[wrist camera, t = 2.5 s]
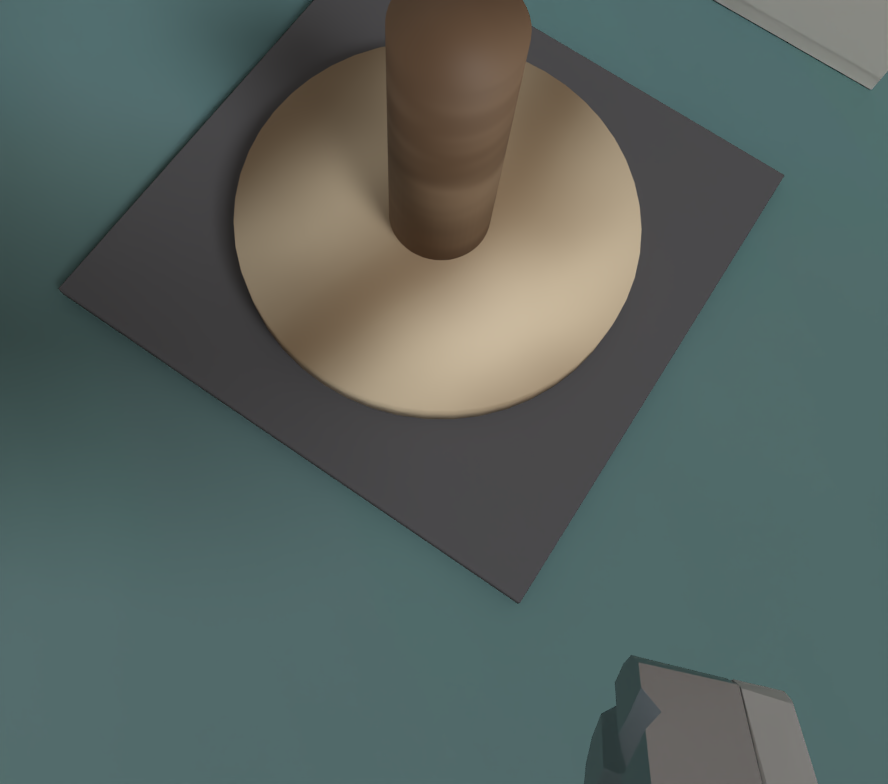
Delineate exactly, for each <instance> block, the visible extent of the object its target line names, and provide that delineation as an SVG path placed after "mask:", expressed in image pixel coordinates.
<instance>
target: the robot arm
mask: <svg viewBox="0 0 888 784" xmlns="http://www.w3.org/2000/svg"><path fill="white" fill-rule="evenodd" d="M615 693H616V706H615V707H613V708H611V709H609V710H607V711H605V712H603V713H601V715H600V718H599V721H598V723H597V726H596V728H595V731H594V733H593V736H592V739H591V744H590V748H589V752H588V757H587V761H586V768H585V780H584V784H818V782H817V779H816V776H815V773H814V769H813V766H812V763H811V760H810V756H809V753H808V750H807V747H806V744H805V740H804V737H803V734H802V731H801V728H800V724H799V721H798V718H797V715H796V711H795V708H794V705H793V702H792V700H791V699H790V698H789V696H788V695H787V694H786V693H785V692H784V691H780V690H776V689H772V688H768V687H763V686H759V685H755V684H751V683H747V682H742V681H738V680H734V679H733V680H729V679H727V678H723V677H719V676H715V675H710V674H706V673H702V672H698V671H694V670H690V669H686V668H682V667H678V666H674V665H670V664H665V663H661V662H657V661H653V660H649V659H645V658H641V657H637V656H633V655H631V656H630V657H629V658H628V659H627V660H626V662H625V663H624V664H623V666H622V668H621V670H620V672H619V675H618V677H617V679H616V681H615Z"/></svg>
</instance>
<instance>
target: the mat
mask: <svg viewBox="0 0 888 784" xmlns="http://www.w3.org/2000/svg"><path fill="white" fill-rule="evenodd" d="M390 1H391V0H314V1H313V2H312V3H311V4H310V5H309V6H308V7H307V9H306V10H305V11H304V12H303V13H302V14H301V15H300V16H299V18H298V19H297V20H296V21H295V22H294V23H293V24H292V25H291V27H290V28H289V29H288V30H287V31H286V32H285V33H284V34H283V36H282V37H281V38H280V39H279V40H278V41H277V42H276V44H275V45H274V46H273V47H272V48H271V49H270V50H269V51H268V53H267V54H266V55H265V56H264V57H263V58H262V59H261V60H260V62H259V63H258V64H257V65H256V66H255V67H254V68H253V69H252V71H251V72H250V73H249V74H248V75H247V76H246V77H245V79H244V80H243V81H242V82H241V83H240V84H239V85H238V86H237V88H236V89H235V90H234V91H233V92H232V93H231V94H230V95H229V97H228V98H227V99H226V100H225V101H224V102H223V103H222V104H221V106H220V107H219V108H218V109H217V110H216V111H215V112H214V114H213V115H212V116H211V117H210V118H209V119H208V120H207V121H206V123H205V124H204V125H203V126H202V127H201V128H200V129H199V130H198V132H197V133H196V134H195V135H194V136H193V137H192V138H191V139H190V141H189V142H188V143H187V144H186V145H185V146H184V147H183V149H182V150H181V151H180V152H179V153H178V154H177V155H176V156H175V158H174V159H173V160H172V161H171V162H170V163H169V164H168V165H167V167H166V168H165V169H164V170H163V171H162V172H161V173H160V174H159V176H158V177H157V178H156V179H155V180H154V181H153V182H152V184H151V185H150V186H149V187H148V188H147V189H146V190H145V191H144V193H143V194H142V195H141V196H140V197H139V198H138V199H137V200H136V202H135V203H134V204H133V205H132V206H131V207H130V208H129V209H128V211H127V212H126V213H125V214H124V215H123V216H122V217H121V219H120V220H119V221H118V222H117V223H116V224H115V225H114V226H113V228H112V229H111V230H110V231H109V232H108V233H107V234H106V235H105V237H104V238H103V239H102V240H101V241H100V242H99V243H98V244H97V246H96V247H95V248H94V249H93V250H92V251H91V252H90V254H89V255H88V256H87V257H86V258H85V259H84V260H83V261H82V263H81V264H80V265H79V266H78V267H77V268H76V269H75V270H74V272H73V273H72V274H71V275H70V276H69V277H68V278H67V279H66V281H65V282H64V283H63V284H62V285H61V286H60V287H59V290H60V291H61V292H62V293H63V294H64V295H65V296H67V297H68V298H70V299H71V300H73V301H74V302H76V303H77V304H79V305H80V306H82V307H83V308H84V309H86V310H87V311H89V312H90V313H92V314H93V315H95V316H96V317H98V318H99V319H101V320H102V321H104V322H105V323H106V324H108V325H109V326H111V327H112V328H114V329H115V330H117V331H118V332H120V333H121V334H123V335H124V336H126V337H127V338H129V339H130V340H131V341H133V342H134V343H136V344H137V345H139V346H140V347H142V348H143V349H145V350H146V351H148V352H149V353H151V354H152V355H153V356H155V357H156V358H158V359H159V360H161V361H162V362H164V363H165V364H167V365H168V366H170V367H171V368H173V369H174V370H176V371H177V372H178V373H180V374H181V375H183V376H184V377H186V378H187V379H189V380H190V381H192V382H193V383H195V384H196V385H198V386H199V387H201V388H202V389H203V390H205V391H206V392H208V393H209V394H211V395H212V396H214V397H215V398H217V399H218V400H220V401H221V402H223V403H224V404H225V405H227V406H228V407H230V408H231V409H233V410H234V411H236V412H237V413H239V414H240V415H242V416H243V417H245V418H246V419H248V420H249V421H250V422H252V423H253V424H255V425H256V426H258V427H259V428H261V429H262V430H264V431H265V432H267V433H268V434H270V435H271V436H272V437H274V438H275V439H277V440H278V441H280V442H281V443H283V444H284V445H286V446H287V447H289V448H290V449H292V450H293V451H295V452H296V453H297V454H299V455H300V456H302V457H303V458H305V459H306V460H308V461H309V462H311V463H312V464H314V465H315V466H317V467H318V468H319V469H321V470H322V471H324V472H325V473H327V474H328V475H330V476H331V477H333V478H334V479H336V480H337V481H339V482H340V483H342V484H343V485H344V486H346V487H347V488H349V489H350V490H352V491H353V492H355V493H356V494H358V495H359V496H361V497H362V498H364V499H365V500H366V501H368V502H369V503H371V504H372V505H374V506H375V507H377V508H378V509H380V510H381V511H383V512H384V513H386V514H387V515H389V516H390V517H391V518H393V519H394V520H396V521H397V522H399V523H400V524H402V525H403V526H405V527H406V528H408V529H409V530H411V531H412V532H413V533H415V534H416V535H418V536H419V537H421V538H422V539H424V540H425V541H427V542H428V543H430V544H431V545H433V546H434V547H436V548H437V549H438V550H440V551H441V552H443V553H444V554H446V555H447V556H449V557H450V558H452V559H453V560H455V561H456V562H458V563H459V564H460V565H462V566H463V567H465V568H466V569H468V570H469V571H471V572H472V573H474V574H475V575H477V576H478V577H480V578H481V579H483V580H484V581H485V582H487V583H488V584H490V585H491V586H493V587H494V588H496V589H497V590H499V591H500V592H502V593H503V594H505V595H506V596H508V597H509V598H510V599H512V600H513V601H515V602H516V603H520V602H521V600H522V599H523V597H524V595H525V594H526V592H527V591H528V589H529V587H530V586H531V584H532V582H533V581H534V579H535V578H536V576H537V574H538V573H539V571H540V570H541V568H542V566H543V565H544V563H545V561H546V560H547V558H548V557H549V555H550V553H551V552H552V550H553V549H554V547H555V545H556V544H557V542H558V540H559V539H560V537H561V536H562V534H563V532H564V531H565V529H566V528H567V526H568V524H569V523H570V521H571V519H572V518H573V516H574V515H575V513H576V511H577V510H578V508H579V507H580V505H581V503H582V502H583V500H584V498H585V497H586V495H587V494H588V492H589V490H590V489H591V487H592V486H593V484H594V482H595V481H596V479H597V477H598V476H599V474H600V473H601V471H602V469H603V468H604V466H605V465H606V463H607V461H608V460H609V458H610V456H611V455H612V453H613V452H614V450H615V448H616V447H617V445H618V444H619V442H620V440H621V439H622V437H623V435H624V434H625V432H626V431H627V429H628V427H629V426H630V424H631V423H632V421H633V419H634V418H635V416H636V414H637V413H638V411H639V410H640V408H641V406H642V405H643V403H644V402H645V400H646V398H647V397H648V395H649V393H650V392H651V390H652V389H653V387H654V385H655V384H656V382H657V381H658V379H659V377H660V376H661V374H662V372H663V371H664V369H665V368H666V366H667V364H668V363H669V361H670V359H671V358H672V356H673V355H674V353H675V351H676V350H677V348H678V347H679V345H680V343H681V342H682V340H683V338H684V337H685V335H686V334H687V332H688V330H689V329H690V327H691V326H692V324H693V322H694V321H695V319H696V317H697V316H698V314H699V313H700V311H701V309H702V308H703V306H704V305H705V303H706V301H707V300H708V298H709V296H710V295H711V293H712V292H713V290H714V288H715V287H716V285H717V284H718V282H719V280H720V279H721V277H722V275H723V274H724V272H725V271H726V269H727V267H728V266H729V264H730V263H731V261H732V259H733V258H734V256H735V254H736V253H737V251H738V250H739V248H740V246H741V245H742V243H743V242H744V240H745V238H746V237H747V235H748V233H749V232H750V230H751V229H752V227H753V225H754V224H755V222H756V221H757V219H758V217H759V216H760V214H761V212H762V211H763V209H764V208H765V206H766V204H767V203H768V201H769V200H770V198H771V196H772V195H773V193H774V191H775V190H776V188H777V187H778V185H779V183H780V182H781V180H782V179H783V177H784V175H783V174H782V173H780V172H778V171H776V170H775V169H773V168H771V167H770V166H768V165H766V164H765V163H763V162H761V161H760V160H758V159H756V158H754V157H753V156H751V155H749V154H748V153H746V152H744V151H743V150H741V149H739V148H738V147H736V146H734V145H732V144H731V143H729V142H727V141H726V140H724V139H722V138H721V137H719V136H717V135H715V134H714V133H712V132H710V131H709V130H707V129H705V128H704V127H702V126H700V125H699V124H697V123H695V122H693V121H692V120H690V119H688V118H687V117H685V116H683V115H682V114H680V113H678V112H677V111H675V110H673V109H671V108H670V107H668V106H666V105H665V104H663V103H661V102H660V101H658V100H656V99H655V98H653V97H651V96H649V95H648V94H646V93H644V92H643V91H641V90H639V89H638V88H636V87H634V86H633V85H631V84H629V83H627V82H626V81H624V80H622V79H621V78H619V77H617V76H616V75H614V74H612V73H611V72H609V71H607V70H605V69H604V68H602V67H600V66H599V65H597V64H595V63H594V62H592V61H590V60H589V59H587V58H585V57H583V56H582V55H580V54H578V53H577V52H575V51H573V50H572V49H570V48H568V47H567V46H565V45H563V44H561V43H560V42H558V41H556V40H555V39H553V38H551V37H550V36H548V35H546V34H545V33H543V32H541V31H539V30H538V29H536V28H534V27H533V26H531V29H532V33H531V41H530V46H529V50H528V55H527V59H526V62H528V63H530V64H532V65H533V66H535V67H537V68H539V69H541V70H543V71H545V72H547V73H548V74H550V75H551V76H553V77H554V78H556V79H557V80H559V81H560V82H562V83H563V84H565V85H566V86H567V87H568V88H570V89H571V90H572V91H573V92H574V93H575V94H577V95H578V96H579V97H580V98H581V99H583V100H584V101H585V102H586V103H587V104H588V106H589V107H590V108H591V109H592V110H593V111H594V112H595V113H596V114H597V115H598V116H599V118H600V119H601V120H602V121H603V123H604V124H605V126H606V127H607V128H608V130H609V131H610V133H611V134H612V135H613V137H614V138H615V140H616V142H617V144H618V145H619V147H620V149H621V151H622V153H623V155H624V157H625V159H626V161H627V163H628V166H629V169H630V172H631V174H632V177H633V180H634V182H635V187H636V191H637V196H638V200H639V205H640V216H641V229H642V230H641V245H640V256H639V260H638V265H637V270H636V274H635V278H634V281H633V284H632V286H631V289H630V292H629V294H628V297H627V300H626V302H625V303H624V305H623V307H622V309H621V311H620V313H619V314H618V316H617V318H616V320H615V322H614V323H613V325H612V326H611V328H610V329H609V331H608V332H607V333H606V335H605V336H604V337H603V339H602V340H601V341H600V343H599V344H598V345H597V347H596V348H595V349H594V351H593V352H592V353H591V355H590V356H589V357H588V358H587V359H586V360H585V361H584V362H583V363H582V364H581V365H580V366H579V367H578V368H577V369H576V370H575V371H573V372H572V373H571V374H569V375H568V376H567V377H566V378H564V379H563V380H562V381H560V382H559V383H558V384H556V385H555V386H554V387H552V388H550V389H548V390H547V391H545V392H543V393H541V394H540V395H538V396H536V397H534V398H532V399H531V400H528V401H526V402H523V403H521V404H518V405H516V406H513V407H511V408H508V409H505V410H501V411H497V412H493V413H490V414H486V415H482V416H475V417H467V418H459V419H422V418H415V417H407V416H400V415H395V414H392V413H388V412H384V411H380V410H377V409H373V408H370V407H368V406H365V405H363V404H360V403H358V402H356V401H353V400H351V399H348V398H346V397H344V396H343V395H341V394H339V393H337V392H336V391H334V390H332V389H330V388H329V387H327V386H325V385H323V384H322V383H321V382H319V381H318V380H317V379H315V378H314V377H313V376H311V375H310V374H309V373H308V372H306V371H305V370H304V369H302V368H301V367H300V366H299V365H298V364H297V363H296V362H295V361H294V360H293V359H292V358H291V357H290V356H289V355H288V354H287V353H286V352H285V351H284V350H283V348H282V347H281V346H280V345H279V343H278V342H277V341H276V339H275V338H274V337H273V335H272V334H271V333H270V331H269V330H268V329H267V327H266V325H265V323H264V321H263V320H262V318H261V316H260V314H259V312H258V311H257V309H256V307H255V305H254V302H253V300H252V298H251V295H250V293H249V290H248V288H247V285H246V282H245V280H244V277H243V275H242V272H241V269H240V264H239V260H238V255H237V251H236V247H235V234H234V208H235V196H236V192H237V187H238V182H239V178H240V174H241V171H242V168H243V166H244V163H245V160H246V158H247V155H248V152H249V150H250V148H251V146H252V145H253V143H254V141H255V139H256V137H257V135H258V134H259V132H260V130H261V129H262V127H263V126H264V125H265V123H266V122H267V121H268V119H269V118H270V117H271V115H272V114H273V112H274V111H275V110H276V109H277V108H278V107H279V106H280V105H281V104H282V103H283V102H284V101H285V100H286V99H287V98H288V97H289V96H290V95H291V94H292V93H293V92H294V91H295V90H297V89H298V88H299V87H300V86H302V85H303V84H304V83H305V82H307V81H308V80H309V79H310V78H312V77H314V76H315V75H317V74H319V73H320V72H322V71H324V70H325V69H327V68H328V67H330V66H332V65H334V64H336V63H338V62H341V61H343V60H345V59H347V58H349V57H352V56H354V55H357V54H360V53H363V52H366V51H370V50H373V49H376V48H380V47H385V18H386V12H387V9H388V6H389V3H390Z"/></svg>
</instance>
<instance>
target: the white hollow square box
mask: <svg viewBox="0 0 888 784" xmlns="http://www.w3.org/2000/svg"><path fill="white" fill-rule="evenodd" d="M715 1H716V2H718V3H720V4H722V5H723V6H725V7H727V8H729V9H730V10H732V11H734V12H736V13H737V14H739V15H741V16H743V17H744V18H746V19H748V20H750V21H751V22H753V23H755V24H757V25H758V26H760V27H762V28H764V29H765V30H767V31H769V32H771V33H772V34H774V35H776V36H778V37H779V38H781V39H783V40H785V41H786V42H788V43H790V44H792V45H793V46H795V47H797V48H799V49H800V50H802V51H804V52H806V53H807V54H809V55H811V56H813V57H814V58H816V59H818V60H820V61H821V62H823V63H825V64H827V65H828V66H830V67H832V68H834V69H835V70H837V71H839V72H841V73H843V74H844V75H846V76H848V77H850V78H851V79H853V80H855V81H857V82H858V83H860V84H862V85H864V86H865V87H867V88H869V89H871V90H872V88H873V87H874V86H875V85H876V84H877V83H878V82H879V80H880V79H881V78H882V77H883V76H884V75H885V73H886V72H887V71H888V0H715Z"/></svg>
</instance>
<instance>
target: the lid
mask: <svg viewBox="0 0 888 784" xmlns="http://www.w3.org/2000/svg"><path fill="white" fill-rule="evenodd" d="M531 33H532V29H531V20H530V15H529V13H528V10H527V7H526V5H525V4H524V2H523V0H391V1H390V3H389V6H388V9H387V12H386V18H385V47H380V48H376V49H373V50H370V51H366V52H363V53H360V54H357V55H354V56H352V57H349V58H347V59H345V60H343V61H341V62H338V63H336V64H334V65H332V66H330V67H328V68H327V69H325V70H324V71H322V72H320V73H319V74H317V75H315V76H314V77H312V78H310V79H309V80H308V81H307V82H305V83H304V84H303V85H302V86H300V87H299V88H298V89H297V90H295V91H294V92H293V93H292V94H291V95H290V96H289V97H288V98H287V99H286V100H285V101H284V102H283V103H282V104H281V105H280V106H279V107H278V108H277V109H276V110H275V111H274V112H273V114H272V115H271V117H270V118H269V119H268V121H267V122H266V123H265V125H264V126H263V127H262V129H261V130H260V132H259V134H258V135H257V137H256V139H255V141H254V143H253V145H252V146H251V148H250V150H249V152H248V155H247V158H246V160H245V163H244V166H243V168H242V171H241V174H240V178H239V182H238V187H237V192H236V196H235V208H234V234H235V247H236V251H237V255H238V260H239V264H240V269H241V272H242V275H243V277H244V280H245V282H246V285H247V288H248V290H249V293H250V295H251V298H252V300H253V302H254V305H255V307H256V309H257V311H258V312H259V314H260V316H261V318H262V320H263V321H264V323H265V325H266V327H267V329H268V330H269V331H270V333H271V334H272V335H273V337H274V338H275V339H276V341H277V342H278V343H279V345H280V346H281V347H282V348H283V350H284V351H285V352H286V353H287V354H288V355H289V356H290V357H291V358H292V359H293V360H294V361H295V362H296V363H297V364H298V365H299V366H300V367H301V368H302V369H304V370H305V371H306V372H308V373H309V374H310V375H311V376H313V377H314V378H315V379H317V380H318V381H319V382H321V383H322V384H323V385H325V386H327V387H329V388H330V389H332V390H334V391H336V392H337V393H339V394H341V395H343V396H344V397H346V398H348V399H351V400H353V401H356V402H358V403H360V404H363V405H365V406H368V407H370V408H373V409H377V410H380V411H384V412H388V413H392V414H395V415H400V416H407V417H415V418H422V419H459V418H467V417H475V416H482V415H486V414H490V413H493V412H497V411H501V410H505V409H508V408H511V407H513V406H516V405H518V404H521V403H523V402H526V401H528V400H531V399H532V398H534V397H536V396H538V395H540V394H541V393H543V392H545V391H547V390H548V389H550V388H552V387H554V386H555V385H556V384H558V383H559V382H560V381H562V380H563V379H564V378H566V377H567V376H568V375H569V374H571V373H572V372H573V371H575V370H576V369H577V368H578V367H579V366H580V365H581V364H582V363H583V362H584V361H585V360H586V359H587V358H588V357H589V356H590V355H591V353H592V352H593V351H594V349H595V348H596V347H597V345H598V344H599V343H600V341H601V340H602V339H603V337H604V336H605V335H606V333H607V332H608V331H609V329H610V328H611V326H612V325H613V323H614V322H615V320H616V318H617V316H618V314H619V313H620V311H621V309H622V307H623V305H624V303H625V302H626V300H627V297H628V294H629V292H630V289H631V286H632V284H633V281H634V278H635V274H636V270H637V265H638V260H639V256H640V245H641V230H642V229H641V216H640V205H639V200H638V196H637V191H636V187H635V182H634V180H633V177H632V174H631V172H630V169H629V166H628V163H627V161H626V159H625V157H624V155H623V153H622V151H621V149H620V147H619V145H618V144H617V142H616V140H615V138H614V137H613V135H612V134H611V133H610V131H609V130H608V128H607V127H606V126H605V124H604V123H603V121H602V120H601V119H600V118H599V116H598V115H597V114H596V113H595V112H594V111H593V110H592V109H591V108H590V107H589V106H588V104H587V103H586V102H585V101H584V100H583V99H581V98H580V97H579V96H578V95H577V94H575V93H574V92H573V91H572V90H571V89H570V88H568V87H567V86H566V85H565V84H563V83H562V82H560V81H559V80H557V79H556V78H554V77H553V76H551V75H550V74H548V73H547V72H545V71H543V70H541V69H539V68H537V67H535V66H533V65H532V64H530V63H528V62H526V59H527V55H528V50H529V46H530V41H531Z"/></svg>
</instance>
